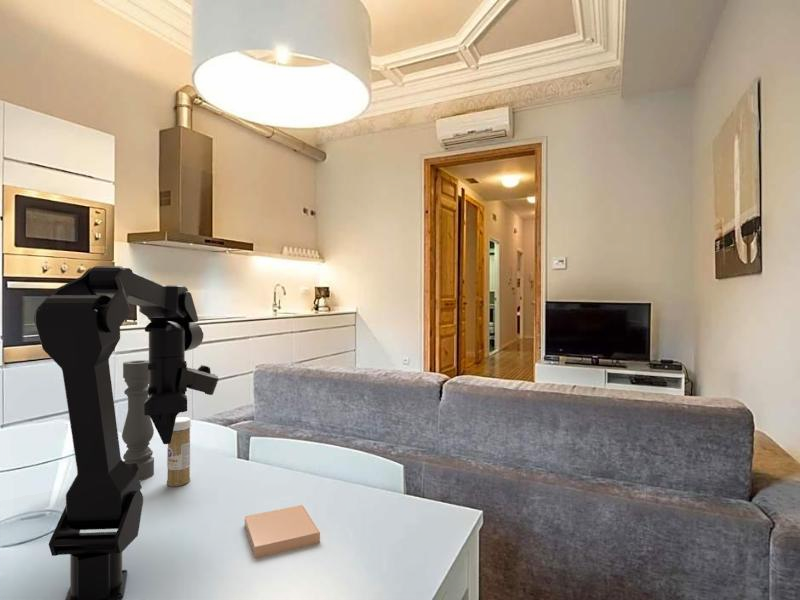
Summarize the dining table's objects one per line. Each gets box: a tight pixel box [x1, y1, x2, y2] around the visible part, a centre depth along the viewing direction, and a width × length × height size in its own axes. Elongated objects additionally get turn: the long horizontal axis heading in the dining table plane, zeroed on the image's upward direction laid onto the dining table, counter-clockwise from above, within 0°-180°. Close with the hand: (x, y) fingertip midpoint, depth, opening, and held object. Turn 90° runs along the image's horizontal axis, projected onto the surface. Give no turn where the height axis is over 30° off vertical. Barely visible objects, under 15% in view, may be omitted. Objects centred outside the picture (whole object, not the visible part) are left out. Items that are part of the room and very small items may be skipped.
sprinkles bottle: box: [166, 416, 192, 487], centre depth 98 cm, size 5×5×14 cm
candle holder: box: [121, 359, 155, 481], centre depth 101 cm, size 6×6×25 cm
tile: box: [244, 504, 321, 558], centre depth 76 cm, size 2×10×11 cm
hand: (167, 443), depth 82 cm, fingers closed
